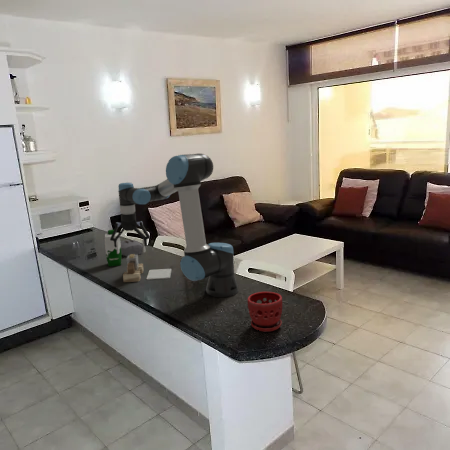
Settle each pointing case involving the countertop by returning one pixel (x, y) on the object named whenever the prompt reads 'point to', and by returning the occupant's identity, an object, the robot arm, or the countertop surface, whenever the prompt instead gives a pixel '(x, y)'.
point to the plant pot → (265, 311)
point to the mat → (159, 274)
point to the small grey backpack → (131, 247)
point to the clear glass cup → (133, 260)
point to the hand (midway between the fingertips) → (131, 252)
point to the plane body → (132, 273)
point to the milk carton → (112, 250)
